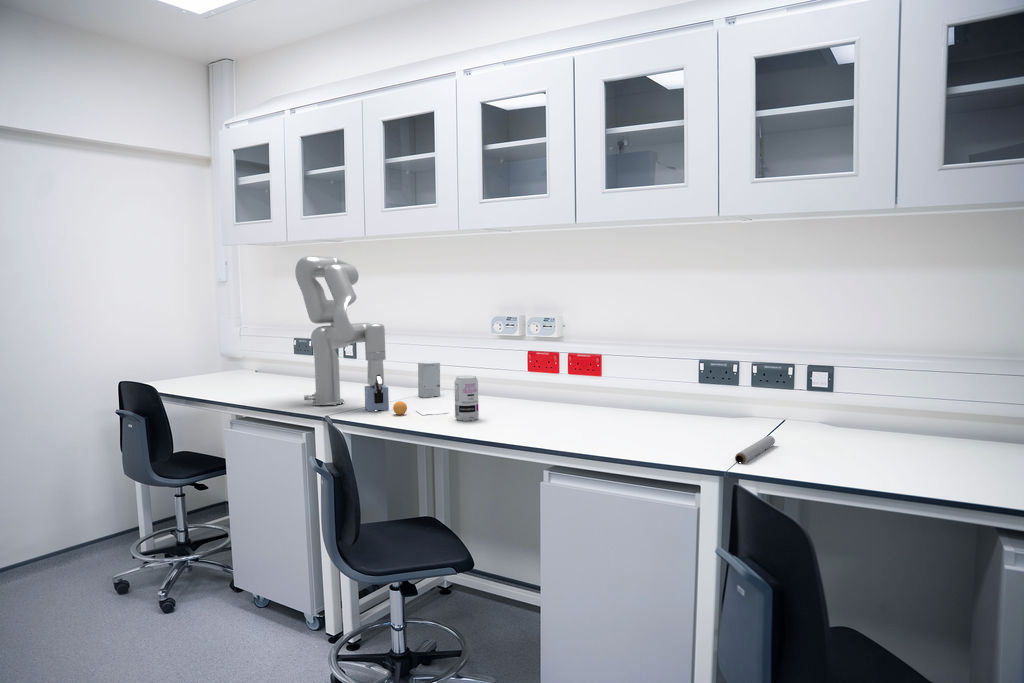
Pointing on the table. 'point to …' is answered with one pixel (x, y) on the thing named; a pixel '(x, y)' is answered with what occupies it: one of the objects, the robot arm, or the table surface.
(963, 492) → the table surface
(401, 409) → the ball
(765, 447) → the grey tube
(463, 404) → the supplement can
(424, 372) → the skincare box
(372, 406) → the light blue square block
